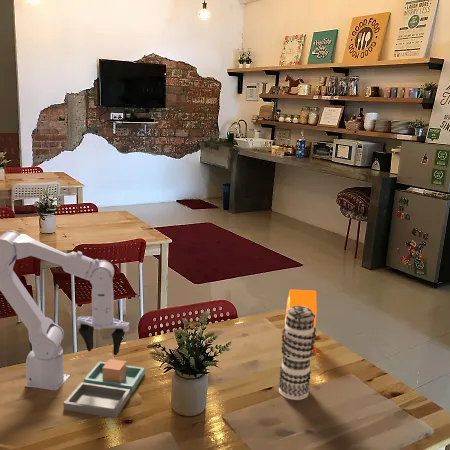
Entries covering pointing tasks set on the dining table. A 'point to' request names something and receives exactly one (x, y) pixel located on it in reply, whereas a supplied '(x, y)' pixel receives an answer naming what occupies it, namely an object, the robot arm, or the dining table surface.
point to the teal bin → (130, 382)
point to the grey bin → (97, 400)
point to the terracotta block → (114, 371)
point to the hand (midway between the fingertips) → (103, 351)
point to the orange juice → (302, 300)
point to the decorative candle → (297, 352)
